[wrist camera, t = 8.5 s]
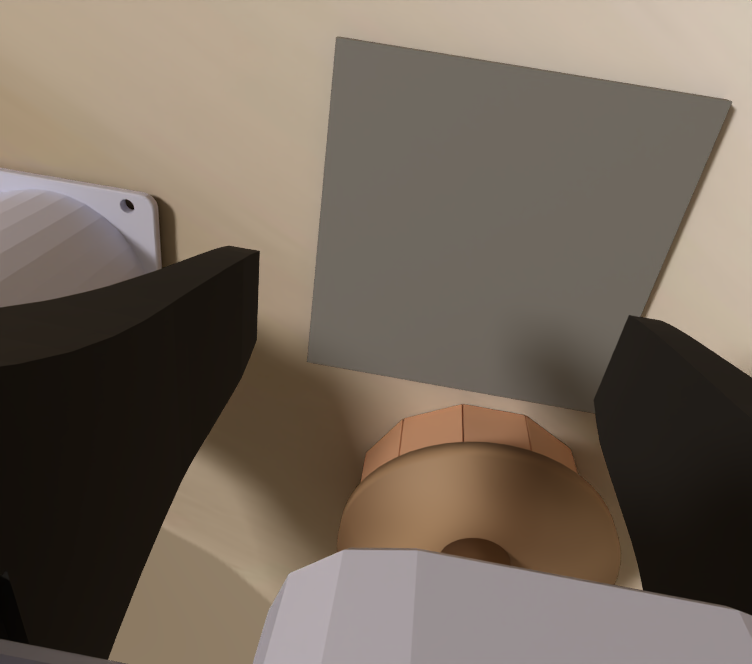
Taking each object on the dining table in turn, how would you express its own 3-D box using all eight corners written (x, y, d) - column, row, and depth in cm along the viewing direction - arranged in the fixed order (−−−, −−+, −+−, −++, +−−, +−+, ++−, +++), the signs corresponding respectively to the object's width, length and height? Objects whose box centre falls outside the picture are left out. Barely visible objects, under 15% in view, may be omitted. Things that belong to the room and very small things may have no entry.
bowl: (350, 544, 30) (339, 606, 27) (376, 388, 25) (366, 443, 22) (544, 580, 29) (554, 647, 26) (612, 430, 24) (635, 492, 21)
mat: (309, 356, 24) (307, 362, 24) (338, 36, 18) (336, 37, 18) (596, 408, 24) (598, 414, 23) (727, 99, 18) (732, 101, 17)
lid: (328, 602, 27) (308, 700, 23) (356, 417, 21) (335, 508, 17) (567, 647, 26) (585, 754, 23) (660, 471, 21) (705, 576, 17)
